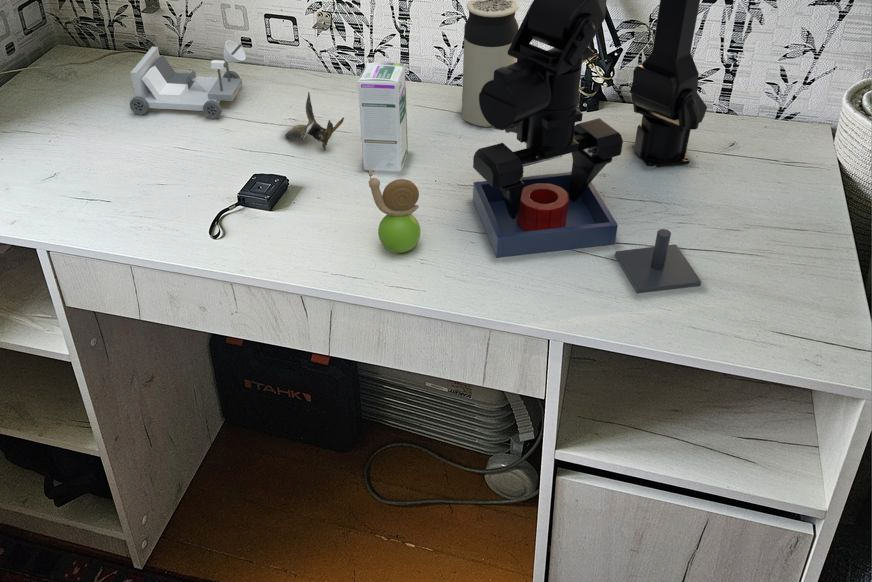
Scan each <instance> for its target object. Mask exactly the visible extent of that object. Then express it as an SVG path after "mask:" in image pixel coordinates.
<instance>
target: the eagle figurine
mask: <svg viewBox="0 0 872 582" xmlns="http://www.w3.org/2000/svg"><path fill="white" fill-rule="evenodd" d="M313 111H314V110H313V105H312V101H311V94H310V91H308V92H307V97H306V102H305V114H306V117H307V121H308V122H307V124H306V125H305V124H296V125H294V126H293V127H292V128H291V129H290V130H288V131H287V132H286V133H285V135H284V136H285V137H287V138H288V137H290V138H292V139H294V140H300V139H301V138H302V137H303V139H302V140H306V138H307V137H308V135H309V136H311V137H313V138H314V139H315V140H316V141H317V142H321V146H322V149H323V152H325V151H326V149H327V146H328V142H329V140H330V139H331V137H332V135H333V133H334V132H335V131H337V129H338V128H339V127H340V126H342V124H343V122H344V120H345V117H342V118H341V119H340V120H338V122H337V123H336V124H335V125H334V124H333V123H332V121H331V120H330V119H328V121H327V124H326V128H324V127H322V126H321V124H320V123H318V122H317V120H316V118H315V115H314V112H313Z"/></svg>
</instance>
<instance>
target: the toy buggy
mask: <svg viewBox="0 0 872 582" xmlns="http://www.w3.org/2000/svg"><path fill="white" fill-rule="evenodd" d="M242 46H243V45H242V43H237V42H236V41H233V40H230V39H229V40H226V41H225V44H224V47H223V59H221V60H220V59H212V60H211V62H210V67H211V69H212V70H217V76H218V77H215V76H196V75H197V72H196V71H194V70H192V71H191V72H190V73H189V72H176V71H175V70H174V68H173V67H172V66H171V64H170V62H169V61H168V60H167V58H166V57H165V55H160V50H159V46H151V47H150V48H149V50H148V51H147V52H146V53H145V54H144V56H143V57H142V58H141V59H140V61H139V62H138V63H137V64H136V65H135V66H134V68H133V69H132V70H131V71H130V77H131V83H132V86H133V91H134V97H132V98H131V99H130V101H129V108H130V110H131V111H132V112H133V113H135V114H136V115H138V116H142V115H143V116H144V115H146V114H147V112H148V111H149V109H162V110H178V111H179V110H180V111H181V110H182V111H199V112H203V114H204V116H205V117H207V118H208V119H211V120H216V119H219V118H220V116H221V115H222V112H223V108H222V106H221V104H220V103H221V101H228V102H233V100H234V99H235V98H236V95H237V94H238V93H239V91H240V89H241V87H242V86H243V79H242V78H241V77H240V75H239V73H237V72H236V71H234V70H230V67H229V64H237V63H240V62H244V61H246V58H247V55H246V52H245V50H244V49H243V47H242ZM224 69H225V70H226V72H224V74H223V75H222V73H221V70H224Z"/></svg>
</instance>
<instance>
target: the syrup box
mask: <svg viewBox="0 0 872 582" xmlns="http://www.w3.org/2000/svg"><path fill="white" fill-rule="evenodd" d="M357 86H358V103H359V119H360V137H361V149H362V162H363V163H362V165H363V170H364V171H367V172H368V170H369V169H372V172H375V171H385V172H396V173H397V172H398V173H400V172H402V170H403V168H404V165H405V162H406V160H407V158H408V157H407V156H408V154H409V151H408V150H409V148H408V147H409V146H408V117H407V115H408V113H407V112H408V111H407V88H406V87H407V86H406V65H405V64H404V63H397V62H388V61H387V62H386V61H378V62H377V61H376V62H375V61H374V62H373V61H372V62H366V64H365V66H364V68H363V70H362V71H361V73H360V76H359V78H358V80H357Z"/></svg>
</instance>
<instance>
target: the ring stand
mask: <svg viewBox="0 0 872 582" xmlns="http://www.w3.org/2000/svg"><path fill="white" fill-rule="evenodd" d="M671 236H672V232H671V231H670V230H669V229H666V228H660V229H657V231H656V237H655V242H654V246H650V247H649V246H648V247H641V248H632V249H631V248H630V249H624V250H623V249H622V250H615V252H614V257H615V259H616V260H617V262H618V263H619V265H620V267H621V269H622V270H623V272H624V273H625V275H626V278H627V279H628V281H629V282H630V284H631V286H632V287H633V289H634V291H635V293H636V294H645V293H653V292H663V291H670V290H678V289H687V288H688V289H689V288H695V287H701V285H702V281H701V279H700V277H699V276H698V274H697V272H696V271H695V270H694V268H693V267H692V266H691V265H690V262H689V261H688V260H687V258H686V257H685V255H684V254H683V253H682V251H681V249H680V248H679V247H678V245H677V244H676V243H675V244H670V241H671V238H672V237H671Z"/></svg>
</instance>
